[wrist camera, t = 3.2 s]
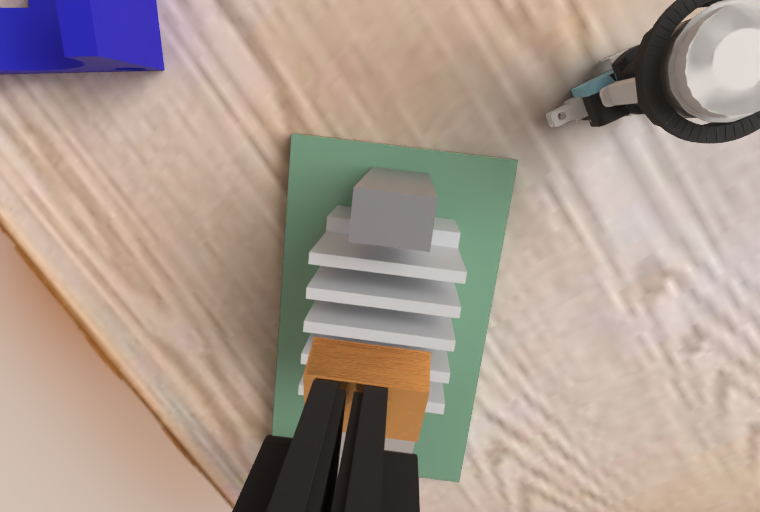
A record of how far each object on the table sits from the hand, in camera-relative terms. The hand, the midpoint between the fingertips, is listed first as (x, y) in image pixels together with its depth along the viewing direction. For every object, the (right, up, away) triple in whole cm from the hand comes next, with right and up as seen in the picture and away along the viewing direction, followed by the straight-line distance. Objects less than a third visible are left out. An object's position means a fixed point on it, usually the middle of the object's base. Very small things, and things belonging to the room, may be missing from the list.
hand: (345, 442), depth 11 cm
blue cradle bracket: (-17, +16, +16) cm, 29 cm away
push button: (+12, +13, +15) cm, 23 cm away
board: (+1, +1, +19) cm, 19 cm away
